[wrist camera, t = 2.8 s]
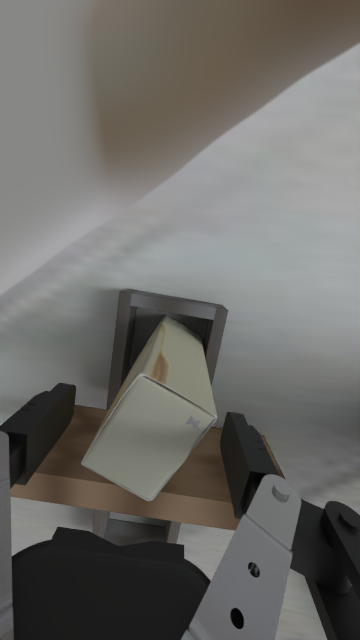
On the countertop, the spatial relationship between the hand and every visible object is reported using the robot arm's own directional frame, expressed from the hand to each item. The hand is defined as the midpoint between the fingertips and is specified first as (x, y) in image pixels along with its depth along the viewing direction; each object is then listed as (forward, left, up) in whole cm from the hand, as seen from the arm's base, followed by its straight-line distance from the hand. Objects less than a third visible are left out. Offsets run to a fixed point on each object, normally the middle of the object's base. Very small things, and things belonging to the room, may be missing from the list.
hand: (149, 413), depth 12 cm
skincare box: (0, +1, -11) cm, 11 cm away
